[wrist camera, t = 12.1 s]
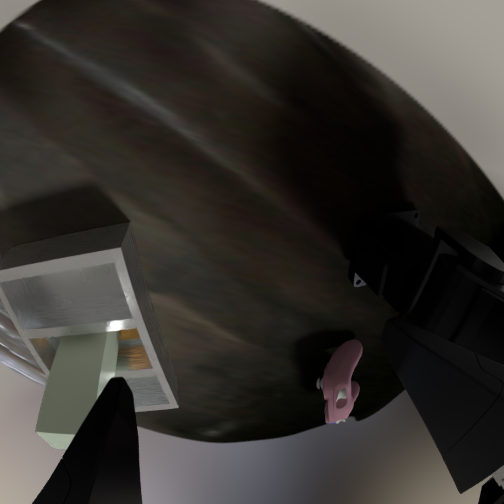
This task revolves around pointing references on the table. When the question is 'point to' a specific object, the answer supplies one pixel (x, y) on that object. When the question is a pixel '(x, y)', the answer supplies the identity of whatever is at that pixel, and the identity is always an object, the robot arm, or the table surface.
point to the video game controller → (340, 382)
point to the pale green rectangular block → (75, 384)
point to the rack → (90, 305)
